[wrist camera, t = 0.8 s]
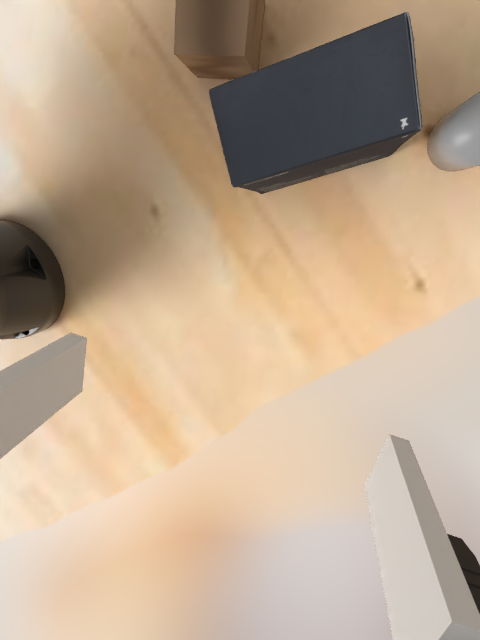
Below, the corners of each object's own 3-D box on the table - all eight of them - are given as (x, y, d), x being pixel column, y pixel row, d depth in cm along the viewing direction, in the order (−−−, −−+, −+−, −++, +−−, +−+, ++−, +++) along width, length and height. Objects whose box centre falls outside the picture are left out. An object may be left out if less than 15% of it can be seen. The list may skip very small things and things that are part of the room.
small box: (381, 75, 31) (414, 4, 20) (392, 155, 33) (428, 130, 22) (242, 125, 35) (205, 87, 24) (258, 195, 37) (231, 190, 26)
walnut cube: (197, 77, 35) (174, 53, 29) (201, 2, 33) (177, -39, 27) (257, 80, 34) (244, 56, 28) (265, 3, 32) (253, -40, 26)
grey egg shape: (416, 159, 33) (440, 148, 26) (446, 101, 31) (479, 74, 24) (468, 179, 32) (504, 173, 26) (501, 121, 31) (550, 99, 24)
